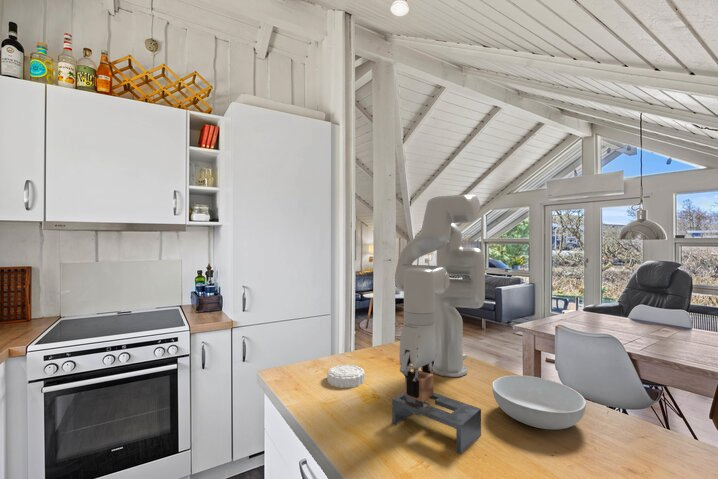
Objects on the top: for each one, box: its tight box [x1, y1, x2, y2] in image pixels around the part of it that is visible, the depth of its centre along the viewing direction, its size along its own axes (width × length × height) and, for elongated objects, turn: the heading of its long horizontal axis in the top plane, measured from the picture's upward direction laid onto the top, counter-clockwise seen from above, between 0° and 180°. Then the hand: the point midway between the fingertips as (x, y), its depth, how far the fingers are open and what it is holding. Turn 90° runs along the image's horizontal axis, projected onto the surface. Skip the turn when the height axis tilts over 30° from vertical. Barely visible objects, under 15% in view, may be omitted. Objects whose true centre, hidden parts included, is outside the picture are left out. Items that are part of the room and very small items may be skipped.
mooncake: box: [326, 364, 366, 389], centre depth 110 cm, size 12×12×4 cm
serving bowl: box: [491, 374, 587, 430], centre depth 86 cm, size 21×21×7 cm
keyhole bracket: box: [391, 391, 482, 455], centre depth 81 cm, size 18×10×6 cm, turn 47°
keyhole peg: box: [404, 370, 435, 416], centre depth 84 cm, size 5×5×8 cm
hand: (419, 391), depth 84 cm, fingers closed on keyhole peg, 5 cm apart
